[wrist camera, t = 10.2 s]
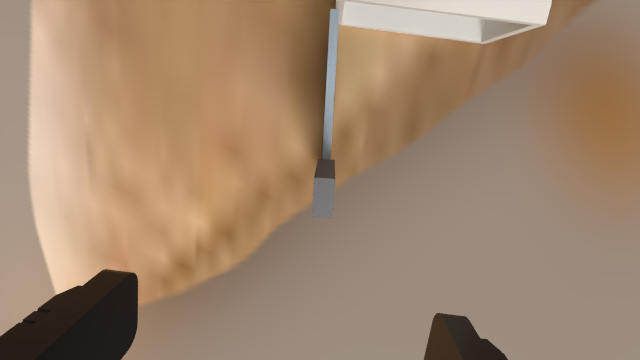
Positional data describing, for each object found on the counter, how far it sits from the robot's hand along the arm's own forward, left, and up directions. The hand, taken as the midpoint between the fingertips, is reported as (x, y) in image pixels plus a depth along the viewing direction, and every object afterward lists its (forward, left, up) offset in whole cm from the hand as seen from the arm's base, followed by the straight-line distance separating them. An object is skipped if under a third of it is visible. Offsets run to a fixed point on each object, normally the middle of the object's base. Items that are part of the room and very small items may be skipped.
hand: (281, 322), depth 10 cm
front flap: (0, +5, -28) cm, 28 cm away
